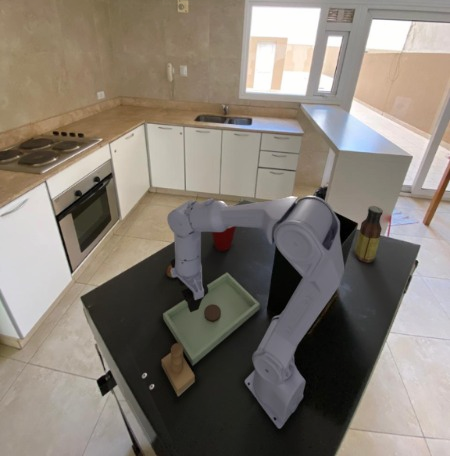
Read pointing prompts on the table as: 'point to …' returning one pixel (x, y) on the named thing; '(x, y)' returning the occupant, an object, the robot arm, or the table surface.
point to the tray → (205, 330)
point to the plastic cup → (224, 238)
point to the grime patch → (212, 313)
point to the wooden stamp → (178, 369)
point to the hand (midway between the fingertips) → (188, 296)
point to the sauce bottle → (369, 235)
